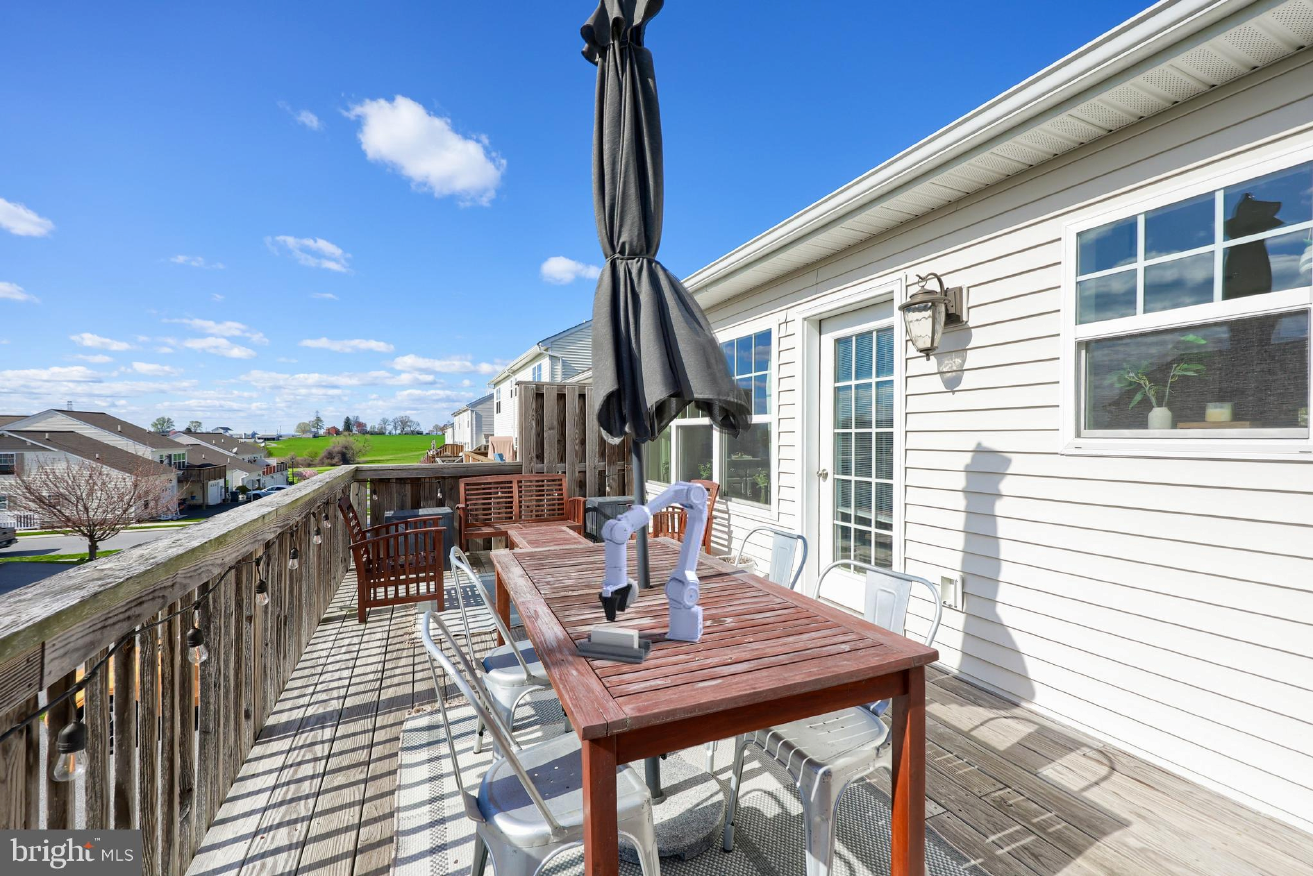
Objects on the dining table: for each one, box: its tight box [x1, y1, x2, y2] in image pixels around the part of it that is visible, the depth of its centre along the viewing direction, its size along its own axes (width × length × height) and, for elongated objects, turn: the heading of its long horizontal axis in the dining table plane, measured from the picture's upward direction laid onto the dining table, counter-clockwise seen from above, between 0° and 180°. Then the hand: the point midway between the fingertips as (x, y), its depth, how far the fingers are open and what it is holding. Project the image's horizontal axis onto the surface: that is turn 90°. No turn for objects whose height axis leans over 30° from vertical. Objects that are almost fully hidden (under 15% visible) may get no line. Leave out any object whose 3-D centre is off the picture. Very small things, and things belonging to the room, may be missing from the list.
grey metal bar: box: [590, 625, 639, 648], centre depth 143 cm, size 12×4×5 cm, turn 73°
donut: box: [626, 576, 640, 607], centre depth 182 cm, size 10×4×10 cm, turn 98°
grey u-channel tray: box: [576, 632, 653, 665], centre depth 143 cm, size 18×9×3 cm, turn 73°
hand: (616, 616), depth 144 cm, fingers open, 7 cm apart
